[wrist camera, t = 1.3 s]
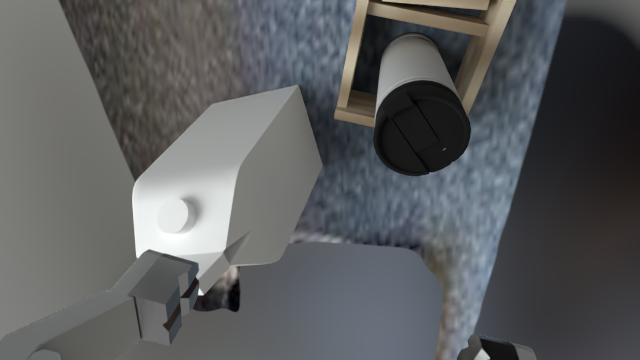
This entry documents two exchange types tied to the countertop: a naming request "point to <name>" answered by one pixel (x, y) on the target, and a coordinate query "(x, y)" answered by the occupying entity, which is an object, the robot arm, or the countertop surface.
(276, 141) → the milk
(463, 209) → the countertop surface
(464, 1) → the offcut top
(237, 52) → the countertop surface
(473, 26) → the birch rack
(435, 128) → the travel mug
